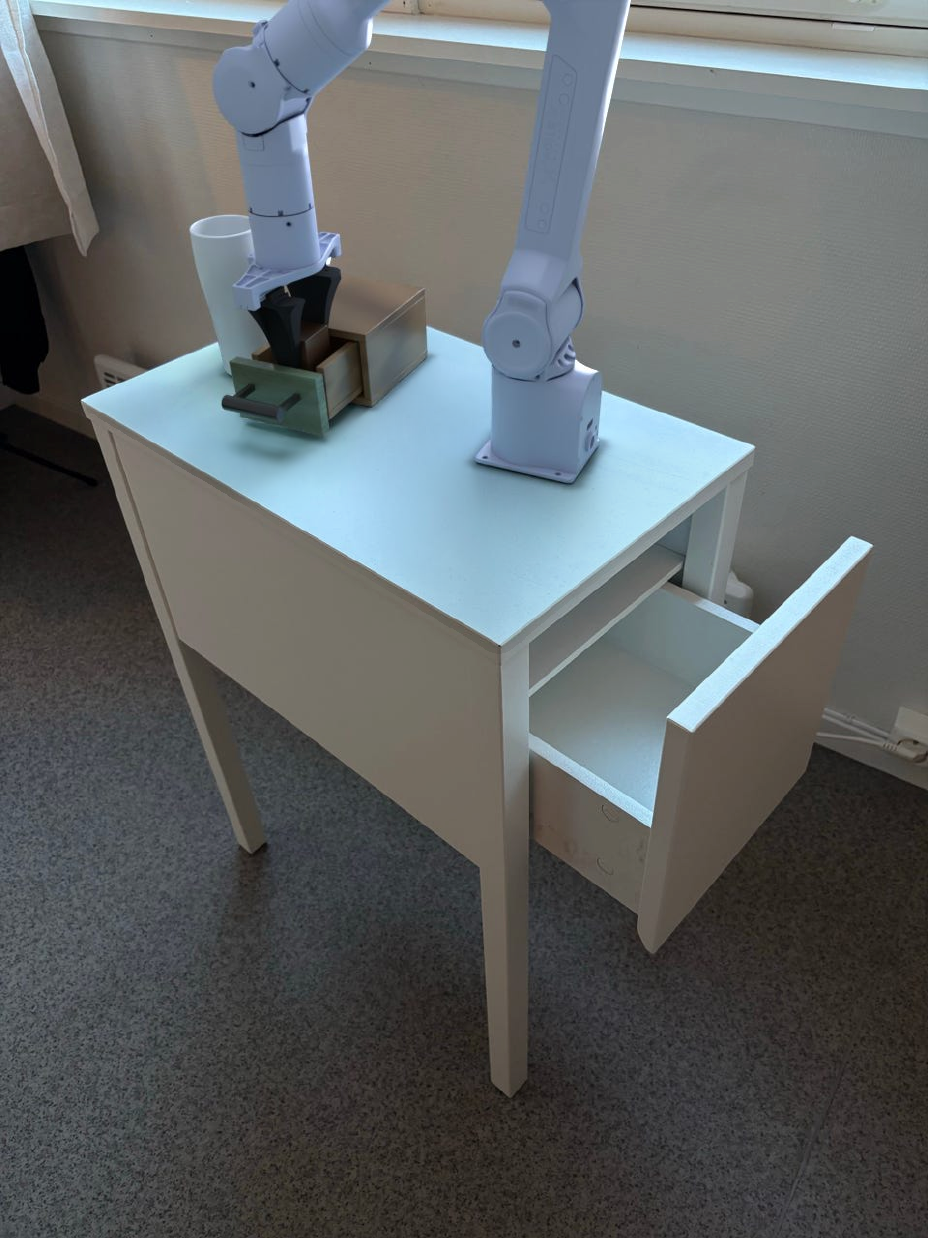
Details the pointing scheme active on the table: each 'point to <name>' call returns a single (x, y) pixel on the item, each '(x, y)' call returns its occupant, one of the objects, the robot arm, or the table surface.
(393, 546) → the table surface
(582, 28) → the robot arm
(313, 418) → the drawer
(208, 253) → the drinking glass
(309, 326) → the block
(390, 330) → the cabinet
